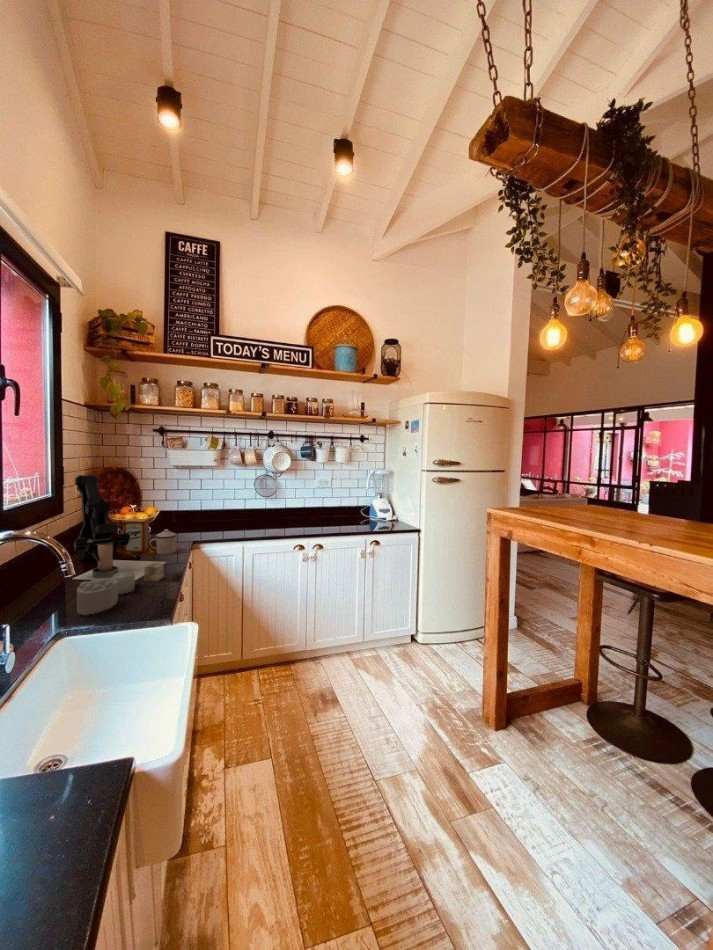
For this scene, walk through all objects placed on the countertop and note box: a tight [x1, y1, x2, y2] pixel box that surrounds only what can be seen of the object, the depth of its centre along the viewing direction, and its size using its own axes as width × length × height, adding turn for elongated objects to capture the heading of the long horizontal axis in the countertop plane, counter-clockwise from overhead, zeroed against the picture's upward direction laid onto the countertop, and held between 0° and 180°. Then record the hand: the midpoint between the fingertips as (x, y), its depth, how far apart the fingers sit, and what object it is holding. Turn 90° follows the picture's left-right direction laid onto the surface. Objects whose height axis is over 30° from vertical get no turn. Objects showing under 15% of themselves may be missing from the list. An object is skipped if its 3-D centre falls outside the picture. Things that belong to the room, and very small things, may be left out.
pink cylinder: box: [97, 543, 114, 572], centre depth 159 cm, size 5×5×11 cm
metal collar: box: [92, 566, 118, 578], centre depth 159 cm, size 9×9×2 cm
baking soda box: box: [122, 518, 150, 554], centre depth 200 cm, size 10×6×16 cm
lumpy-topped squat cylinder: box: [76, 578, 119, 616], centre depth 132 cm, size 10×13×9 cm
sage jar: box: [113, 572, 136, 595], centre depth 147 cm, size 7×7×6 cm
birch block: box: [143, 563, 165, 582], centre depth 157 cm, size 5×5×7 cm
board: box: [72, 559, 167, 584], centre depth 166 cm, size 24×26×2 cm
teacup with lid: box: [149, 528, 177, 555], centre depth 199 cm, size 12×9×12 cm
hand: (106, 559), depth 158 cm, fingers closed on pink cylinder, 5 cm apart
